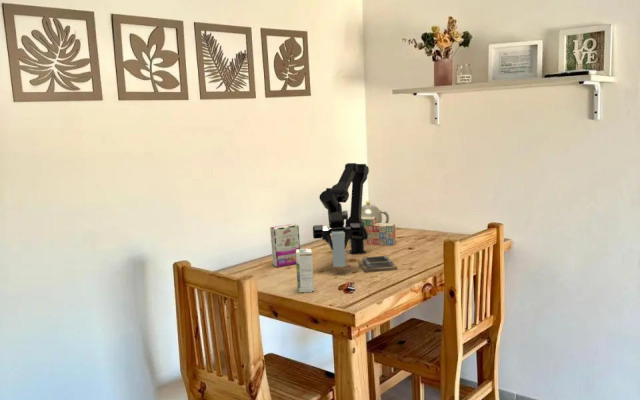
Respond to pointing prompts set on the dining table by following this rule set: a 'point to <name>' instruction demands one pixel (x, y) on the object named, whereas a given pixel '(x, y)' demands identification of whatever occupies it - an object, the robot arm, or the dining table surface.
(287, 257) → the candy bar box
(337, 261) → the block
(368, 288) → the dining table surface
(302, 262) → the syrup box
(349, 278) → the dining table surface
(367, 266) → the jig
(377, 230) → the stack of blocks
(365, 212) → the teapot
